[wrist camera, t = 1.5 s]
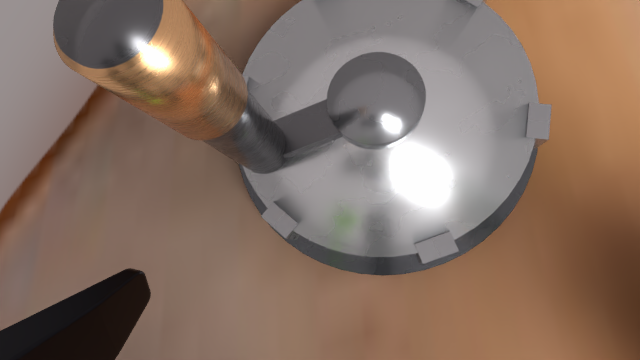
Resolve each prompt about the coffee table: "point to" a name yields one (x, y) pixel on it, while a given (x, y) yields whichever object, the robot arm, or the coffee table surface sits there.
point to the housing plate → (405, 261)
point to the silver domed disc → (336, 110)
